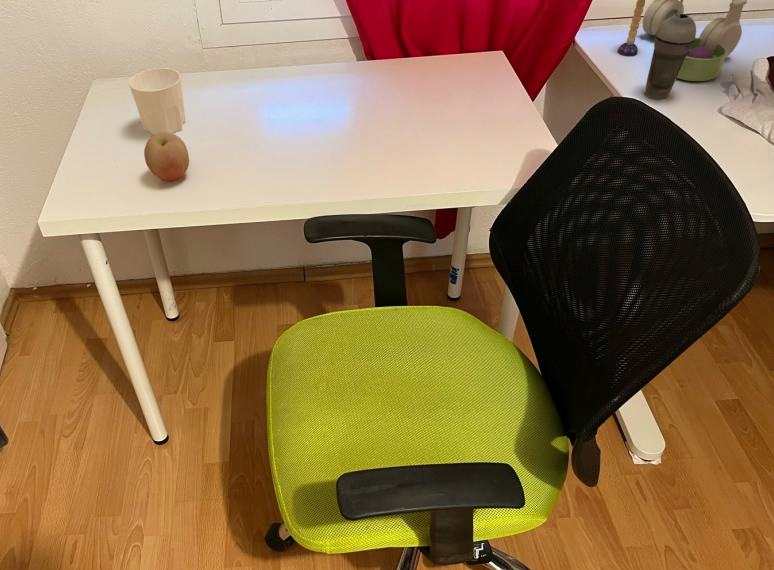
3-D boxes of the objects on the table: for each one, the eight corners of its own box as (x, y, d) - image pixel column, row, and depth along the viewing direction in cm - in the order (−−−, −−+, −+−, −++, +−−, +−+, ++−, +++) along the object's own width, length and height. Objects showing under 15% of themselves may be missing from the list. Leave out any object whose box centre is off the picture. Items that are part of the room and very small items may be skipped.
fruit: (148, 189, 124) (137, 150, 118) (151, 166, 130) (142, 127, 124) (191, 185, 124) (183, 146, 119) (193, 162, 130) (185, 123, 124)
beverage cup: (662, 106, 137) (698, 0, 122) (630, 94, 141) (661, -10, 126) (682, 94, 140) (719, -11, 125) (650, 82, 144) (682, -20, 129)
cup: (131, 126, 141) (119, 79, 134) (173, 109, 145) (163, 63, 138) (156, 144, 135) (145, 96, 128) (198, 126, 139) (190, 79, 132)
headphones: (734, 58, 149) (772, -39, 135) (706, 67, 147) (743, -30, 133) (662, 28, 162) (691, -64, 148) (636, 36, 159) (662, -56, 145)
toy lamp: (612, 49, 156) (633, -31, 144) (630, 45, 156) (653, -34, 144) (624, 57, 152) (647, -24, 140) (642, 54, 153) (667, -27, 141)
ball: (706, 74, 145) (721, 57, 141) (687, 79, 144) (702, 61, 140) (694, 57, 147) (708, 39, 142) (675, 62, 146) (689, 43, 141)
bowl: (729, 76, 144) (739, 53, 140) (687, 87, 141) (696, 63, 138) (692, 56, 151) (700, 33, 147) (651, 66, 149) (658, 43, 145)
